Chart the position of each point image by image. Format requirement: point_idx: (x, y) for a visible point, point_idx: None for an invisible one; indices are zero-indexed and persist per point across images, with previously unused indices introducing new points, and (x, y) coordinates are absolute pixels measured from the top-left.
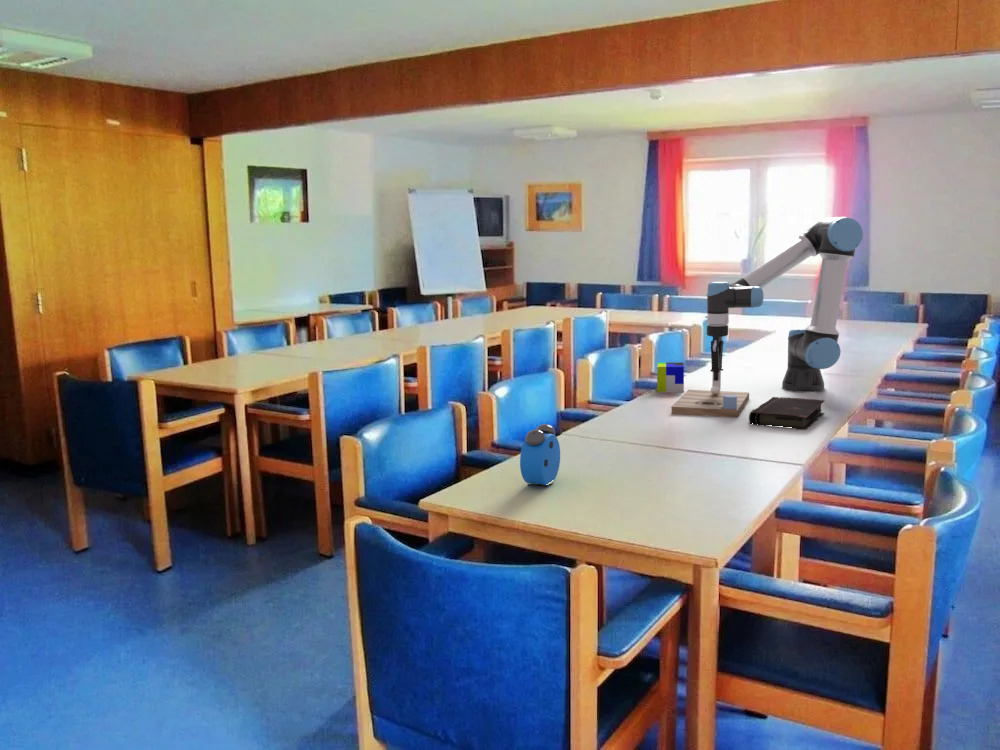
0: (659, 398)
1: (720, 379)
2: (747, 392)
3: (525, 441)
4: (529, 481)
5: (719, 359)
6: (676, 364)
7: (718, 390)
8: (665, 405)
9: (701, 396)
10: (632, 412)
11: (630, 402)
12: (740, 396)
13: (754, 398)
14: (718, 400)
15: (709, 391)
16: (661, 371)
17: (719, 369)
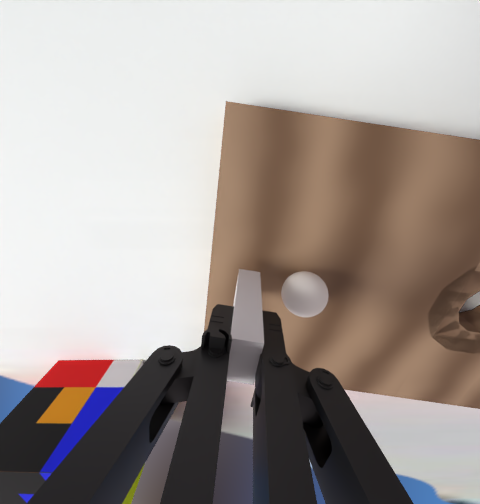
0: (252, 411)
1: (243, 299)
2: (230, 113)
3: None
4: None
5: (313, 497)
6: (29, 490)
7: (323, 282)
8: (355, 400)
9: (336, 331)
10: (436, 456)
11: (309, 459)
12: (351, 159)
13: (206, 74)
14: (437, 270)
15: (227, 303)
16: (126, 496)
17: (281, 367)
